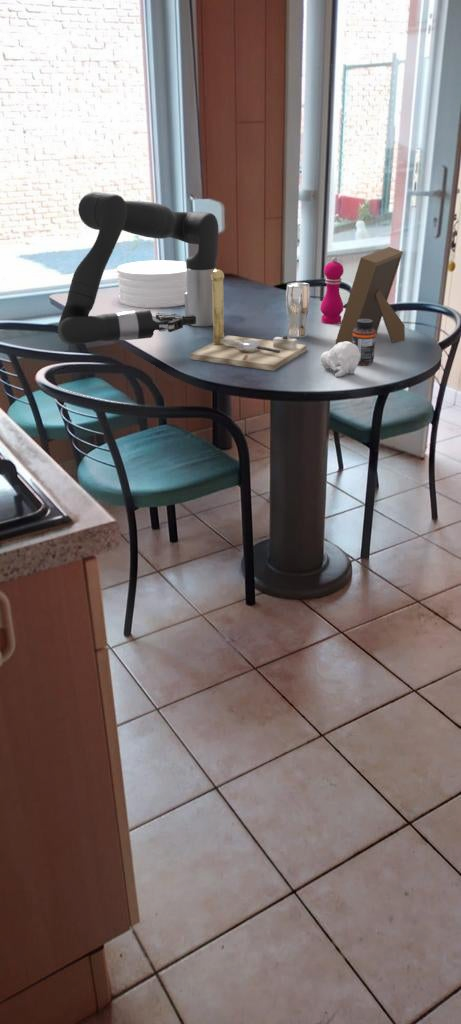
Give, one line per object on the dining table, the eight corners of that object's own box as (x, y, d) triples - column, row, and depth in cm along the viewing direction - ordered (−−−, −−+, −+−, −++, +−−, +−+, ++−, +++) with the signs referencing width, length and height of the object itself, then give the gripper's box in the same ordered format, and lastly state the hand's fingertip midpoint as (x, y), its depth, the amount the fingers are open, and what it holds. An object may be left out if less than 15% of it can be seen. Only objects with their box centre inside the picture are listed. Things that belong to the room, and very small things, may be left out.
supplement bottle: (349, 359, 209) (352, 317, 204) (371, 359, 209) (375, 317, 204) (352, 366, 204) (354, 322, 199) (374, 366, 204) (378, 322, 199)
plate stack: (211, 296, 285) (211, 264, 280) (166, 311, 264) (164, 276, 259) (151, 289, 299) (149, 258, 294) (103, 302, 278) (100, 269, 273)
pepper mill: (341, 324, 244) (345, 258, 235) (318, 323, 246) (321, 258, 236) (343, 319, 251) (347, 255, 241) (321, 318, 252) (323, 254, 243)
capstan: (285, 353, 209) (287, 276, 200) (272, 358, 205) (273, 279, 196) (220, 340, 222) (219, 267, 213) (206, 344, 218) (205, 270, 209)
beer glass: (310, 333, 235) (312, 282, 228) (305, 339, 229) (306, 287, 222) (288, 332, 237) (289, 281, 230) (282, 337, 231) (283, 285, 224)
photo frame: (335, 347, 220) (341, 255, 209) (363, 330, 237) (370, 245, 226) (384, 354, 214) (393, 260, 202) (410, 337, 231) (420, 249, 219)
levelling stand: (190, 359, 211) (189, 341, 209) (227, 340, 228) (227, 324, 226) (273, 370, 201) (274, 352, 198) (306, 350, 218) (307, 333, 216)
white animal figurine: (343, 345, 189) (313, 339, 199) (343, 379, 193) (313, 372, 202) (363, 341, 192) (332, 335, 202) (362, 375, 196) (332, 368, 205)
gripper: (139, 316, 201) (202, 310, 206) (126, 306, 212) (187, 300, 217) (140, 344, 204) (203, 338, 210) (128, 333, 215) (188, 327, 221)
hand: (195, 319), depth 213 cm, fingers closed
